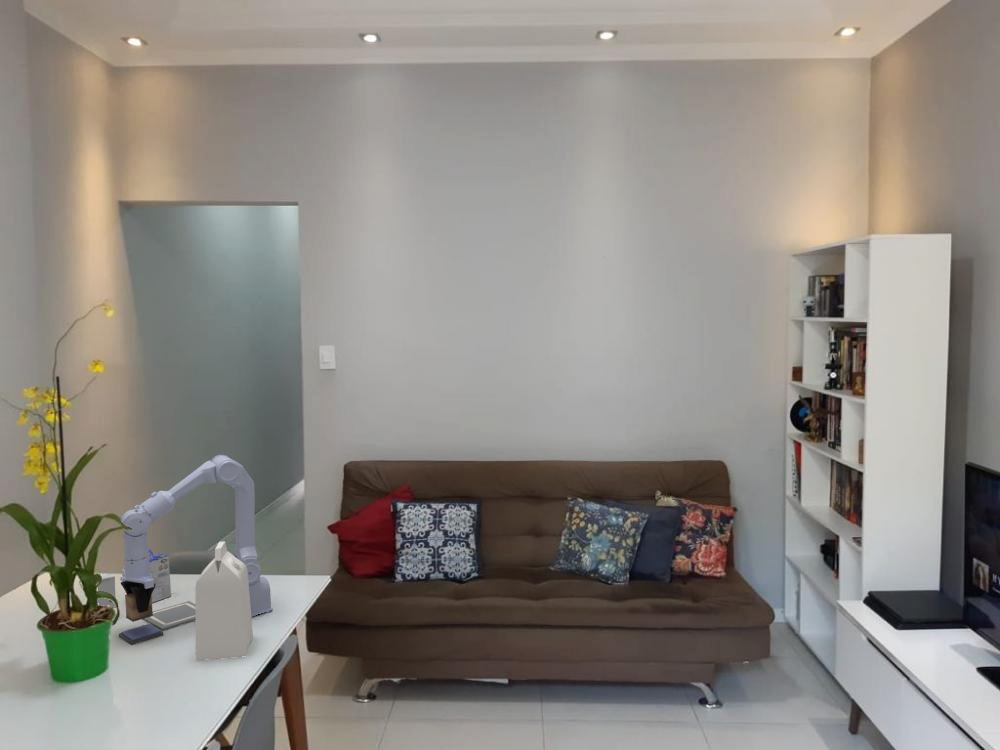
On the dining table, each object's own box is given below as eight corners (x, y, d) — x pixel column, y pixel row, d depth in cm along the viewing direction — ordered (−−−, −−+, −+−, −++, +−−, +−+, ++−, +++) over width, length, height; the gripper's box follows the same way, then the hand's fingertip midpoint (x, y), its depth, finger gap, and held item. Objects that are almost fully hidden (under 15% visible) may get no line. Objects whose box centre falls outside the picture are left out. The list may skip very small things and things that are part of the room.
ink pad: (149, 627, 209) (149, 622, 209) (163, 635, 203) (163, 630, 203) (118, 636, 203) (118, 632, 203) (131, 645, 197) (131, 640, 197)
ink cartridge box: (160, 593, 234) (158, 545, 233) (172, 596, 231) (169, 547, 230) (129, 603, 226) (127, 554, 225) (141, 607, 223) (138, 557, 222)
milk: (205, 640, 199) (200, 539, 197) (253, 636, 201) (248, 536, 199) (195, 661, 188) (189, 553, 185) (245, 656, 189) (240, 550, 187)
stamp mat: (189, 603, 226) (189, 600, 226) (212, 615, 216) (212, 612, 216) (139, 617, 215) (139, 614, 215) (162, 630, 206) (161, 628, 206)
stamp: (146, 612, 206) (144, 589, 205) (152, 616, 203) (151, 593, 202) (126, 617, 202) (125, 595, 202) (132, 621, 199) (131, 598, 199)
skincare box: (92, 625, 211) (89, 580, 210) (90, 619, 215) (87, 576, 214) (117, 619, 214) (115, 576, 213) (115, 614, 218) (112, 571, 217)
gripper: (108, 555, 203) (111, 606, 204) (132, 567, 193) (135, 621, 195) (136, 549, 208) (139, 599, 210) (161, 560, 199) (163, 612, 200)
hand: (139, 609), depth 202 cm, fingers closed on stamp, 4 cm apart
